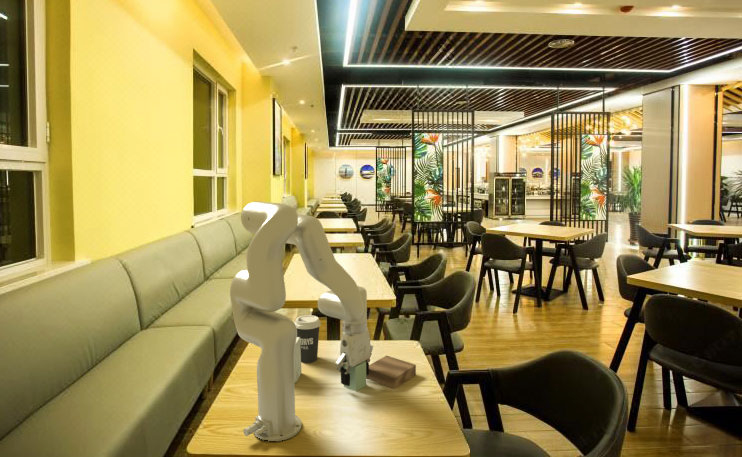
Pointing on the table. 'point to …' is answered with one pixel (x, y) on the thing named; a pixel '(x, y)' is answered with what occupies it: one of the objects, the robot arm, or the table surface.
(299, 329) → the coffee cup
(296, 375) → the supplement box
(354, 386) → the sage block
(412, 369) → the block
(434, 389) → the table surface
